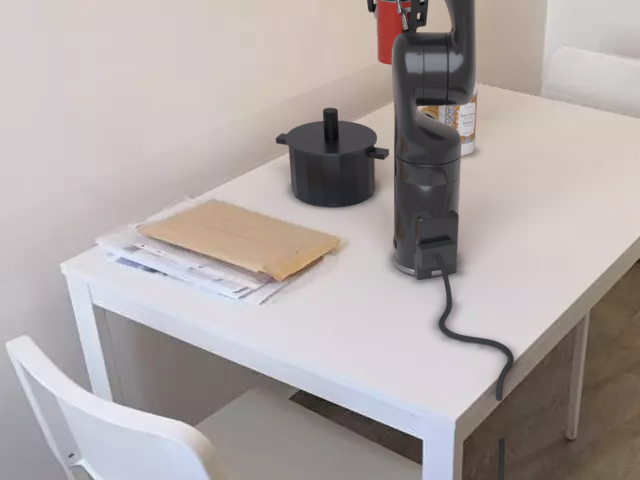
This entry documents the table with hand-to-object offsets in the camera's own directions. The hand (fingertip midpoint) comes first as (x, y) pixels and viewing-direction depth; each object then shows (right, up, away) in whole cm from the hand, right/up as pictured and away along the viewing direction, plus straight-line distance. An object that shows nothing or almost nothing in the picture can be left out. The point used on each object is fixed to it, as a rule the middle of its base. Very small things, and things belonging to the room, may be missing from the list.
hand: (396, 47), depth 142 cm
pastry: (+6, -4, +36) cm, 37 cm away
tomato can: (0, -2, +1) cm, 2 cm away
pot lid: (-11, -14, +4) cm, 18 cm away
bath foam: (+10, -12, +25) cm, 29 cm away
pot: (-11, -22, +9) cm, 26 cm away
